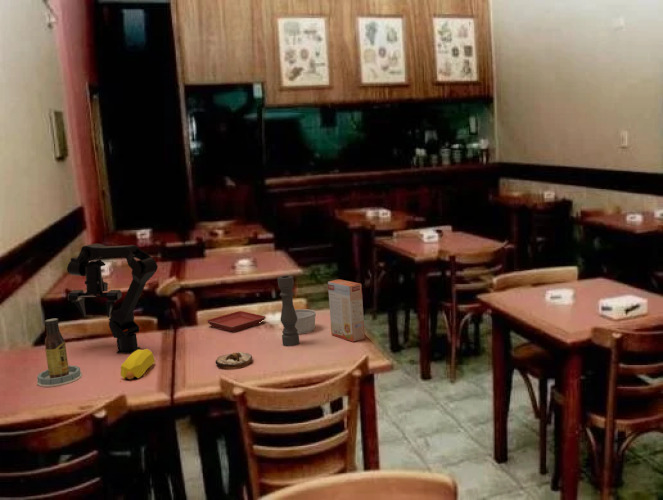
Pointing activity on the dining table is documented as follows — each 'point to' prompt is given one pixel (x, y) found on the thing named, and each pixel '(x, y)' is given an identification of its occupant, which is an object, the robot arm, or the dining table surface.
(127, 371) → the yellow faceted rock
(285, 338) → the candle holder
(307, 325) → the ramekin
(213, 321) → the plant saucer
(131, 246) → the robot arm
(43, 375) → the ring collar
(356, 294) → the cracker box
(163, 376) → the dining table surface
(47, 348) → the sauce bottle
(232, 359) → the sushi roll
